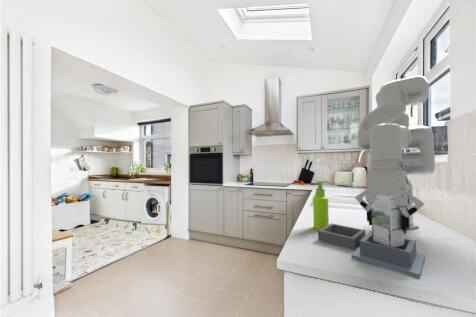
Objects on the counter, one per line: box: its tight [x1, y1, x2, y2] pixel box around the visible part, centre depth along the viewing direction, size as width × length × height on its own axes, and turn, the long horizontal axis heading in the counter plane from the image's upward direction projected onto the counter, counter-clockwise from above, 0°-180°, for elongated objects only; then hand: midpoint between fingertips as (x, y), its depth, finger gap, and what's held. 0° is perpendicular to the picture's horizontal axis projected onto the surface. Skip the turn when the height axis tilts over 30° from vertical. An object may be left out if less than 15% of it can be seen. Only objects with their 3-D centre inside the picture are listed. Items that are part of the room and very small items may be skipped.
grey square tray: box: [317, 223, 366, 251], centre depth 74 cm, size 12×12×4 cm
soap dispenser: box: [312, 180, 331, 231], centre depth 87 cm, size 6×7×20 cm
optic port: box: [350, 230, 426, 279], centre depth 60 cm, size 15×15×5 cm
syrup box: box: [371, 195, 405, 248], centre depth 60 cm, size 6×6×14 cm
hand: (387, 226), depth 60 cm, fingers closed on syrup box, 7 cm apart
